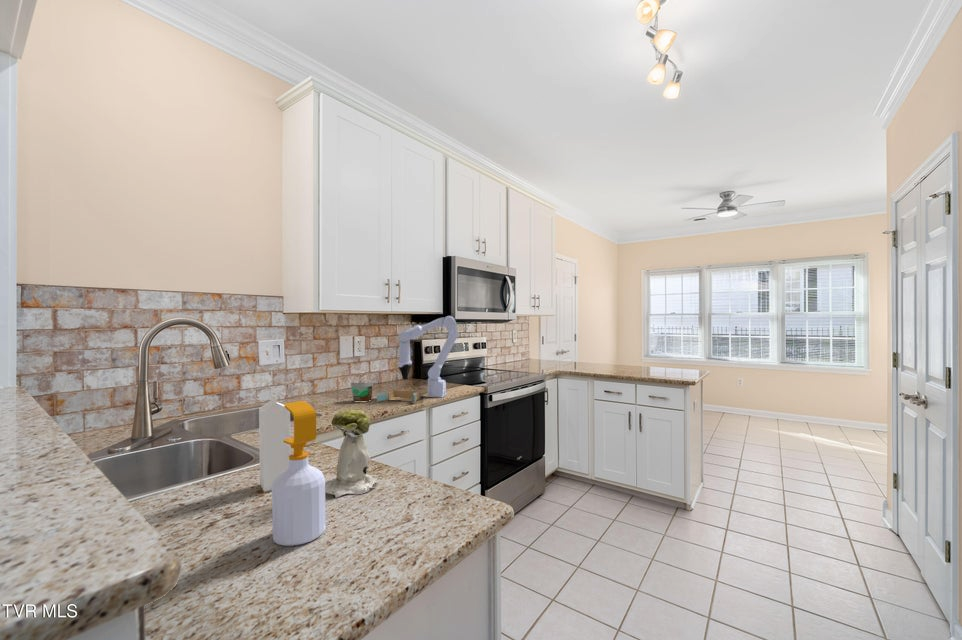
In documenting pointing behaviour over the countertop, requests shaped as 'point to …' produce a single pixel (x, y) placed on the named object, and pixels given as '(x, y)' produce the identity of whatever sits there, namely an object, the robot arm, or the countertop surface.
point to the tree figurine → (351, 455)
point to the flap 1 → (381, 396)
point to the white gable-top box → (273, 442)
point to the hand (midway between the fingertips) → (405, 379)
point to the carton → (404, 395)
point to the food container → (362, 391)
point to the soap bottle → (299, 486)
